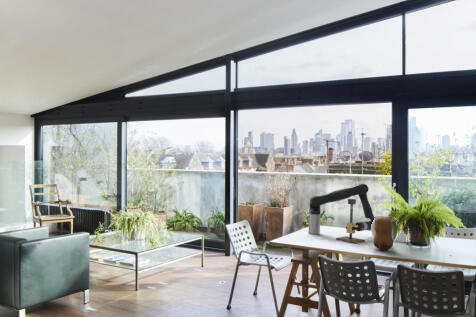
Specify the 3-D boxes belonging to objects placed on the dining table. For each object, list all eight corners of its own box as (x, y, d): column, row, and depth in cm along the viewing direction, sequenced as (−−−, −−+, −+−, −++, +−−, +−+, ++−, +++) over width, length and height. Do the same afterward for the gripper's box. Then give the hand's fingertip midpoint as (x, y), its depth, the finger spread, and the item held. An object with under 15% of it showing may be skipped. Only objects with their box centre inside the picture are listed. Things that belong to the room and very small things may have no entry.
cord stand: (336, 239, 346) (337, 198, 346) (346, 238, 355) (347, 197, 355) (355, 243, 332) (356, 200, 332) (365, 241, 341) (366, 199, 341)
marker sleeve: (346, 232, 344) (346, 222, 344) (349, 232, 347) (350, 222, 347) (351, 233, 340) (352, 223, 340) (355, 233, 343) (355, 223, 343)
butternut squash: (384, 247, 320) (385, 215, 320) (396, 251, 307) (397, 217, 307) (369, 248, 315) (370, 215, 315) (381, 252, 302) (382, 218, 302)
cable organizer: (413, 241, 348) (414, 227, 348) (411, 243, 339) (411, 229, 339) (395, 239, 356) (395, 225, 356) (392, 241, 347) (392, 227, 347)
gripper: (353, 220, 358) (341, 222, 347) (368, 223, 348) (356, 224, 336) (353, 229, 358) (341, 231, 347) (368, 232, 348) (356, 234, 336)
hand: (349, 228), depth 342 cm, fingers closed on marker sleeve, 5 cm apart
